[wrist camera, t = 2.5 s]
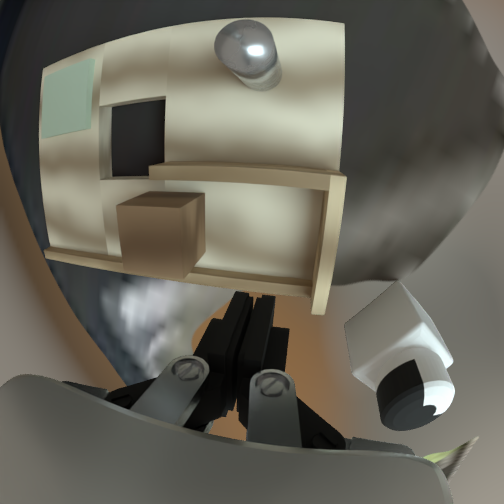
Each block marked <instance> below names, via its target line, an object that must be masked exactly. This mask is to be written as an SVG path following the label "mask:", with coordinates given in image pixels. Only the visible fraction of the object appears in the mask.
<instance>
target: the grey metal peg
mask: <svg viewBox="0 0 504 504" xmlns="http://www.w3.org/2000/svg"><path fill="white" fill-rule="evenodd" d="M214 50H215V54H216V56H217V57H218V59H219V60H220V61H221V62H222V63H223V64H224V65H225V66H227V67H228V68H229V69H230V70H231V71H232V72H233V73H234V74H235V75H236V76H237V77H238V78H239V79H240V80H241V81H242V82H243V83H244V84H245V85H246V86H247V87H249V88H250V89H252V90H255V91H260V92H262V91H268V90H271V89H273V88H274V87H276V86H277V85H278V84H279V82H280V81H281V79H282V67H281V64H280V60H279V56H278V53H277V49H276V45H275V42H274V38H273V35H272V33H271V31H270V30H269V29H268V27H266V26H265V25H264V24H262V23H261V22H258V21H255V20H250V19H242V20H237V21H234V22H231V23H229V24H227V25H226V26H225V27H223V28H222V29H221V30H220V31H219V33H218V34H217V36H216V38H215V42H214Z"/></svg>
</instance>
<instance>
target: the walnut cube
mask: <svg viewBox="0 0 504 504" xmlns="http://www.w3.org/2000/svg"><path fill="white" fill-rule="evenodd" d="M116 212H117V223H118V232H119V240H120V248H121V255H122V262H123V268H124V271H130V272H137V273H143V274H149V275H156V276H162V277H169V278H176V279H183V280H184V279H185V277H186V276H187V275H188V274H189V272H190V271H191V270H192V269H193V267H194V266H195V265H196V263H197V262H198V261H199V260H200V258H201V257H202V256H203V255H204V254H205V252H206V242H205V193H195V192H168V191H148V192H146V193H144V194H141V195H139V196H136V197H134V198H132V199H129V200H127V201H125V202H122V203H120V204H118V205H116Z"/></svg>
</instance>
